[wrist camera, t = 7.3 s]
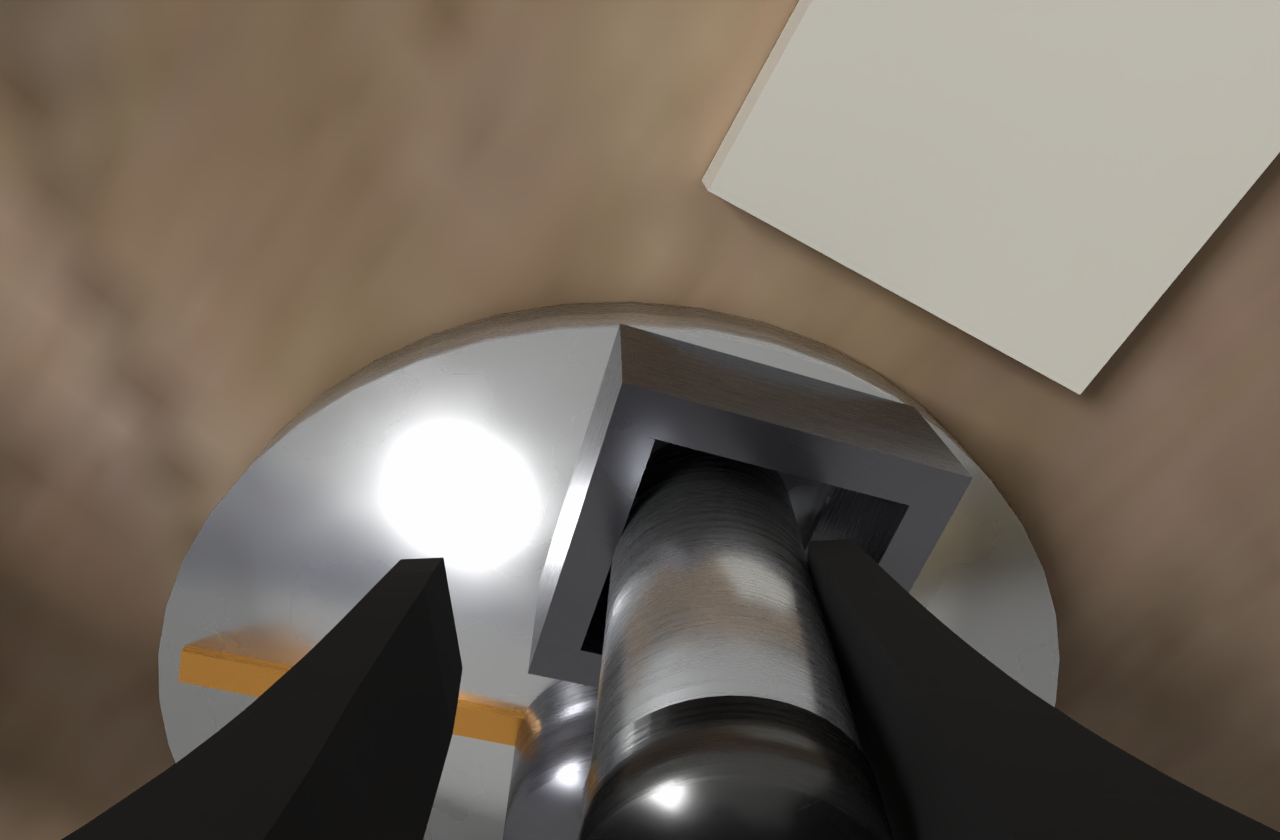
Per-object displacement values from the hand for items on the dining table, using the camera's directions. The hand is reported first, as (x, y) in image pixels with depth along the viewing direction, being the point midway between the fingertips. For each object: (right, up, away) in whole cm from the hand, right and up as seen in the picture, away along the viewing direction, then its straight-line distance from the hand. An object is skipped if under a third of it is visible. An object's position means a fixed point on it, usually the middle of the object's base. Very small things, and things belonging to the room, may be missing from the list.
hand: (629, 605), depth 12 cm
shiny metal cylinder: (+1, +1, +2) cm, 3 cm away
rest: (+7, +8, +2) cm, 11 cm away
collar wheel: (0, -4, +7) cm, 8 cm away
